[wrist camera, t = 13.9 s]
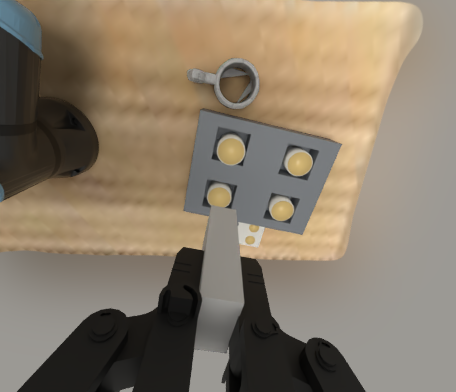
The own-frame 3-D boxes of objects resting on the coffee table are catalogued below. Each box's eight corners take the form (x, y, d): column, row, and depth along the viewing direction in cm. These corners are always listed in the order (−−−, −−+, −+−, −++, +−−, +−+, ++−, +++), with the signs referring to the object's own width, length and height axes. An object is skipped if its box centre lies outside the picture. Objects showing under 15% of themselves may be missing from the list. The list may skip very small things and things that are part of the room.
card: (218, 238, 55) (218, 240, 54) (224, 214, 52) (224, 215, 51) (257, 245, 56) (258, 247, 55) (265, 222, 53) (266, 224, 52)
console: (187, 200, 51) (183, 211, 46) (203, 108, 43) (200, 110, 38) (296, 222, 53) (302, 234, 49) (330, 139, 45) (341, 144, 41)
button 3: (263, 207, 51) (267, 219, 46) (270, 188, 49) (274, 198, 44) (283, 211, 51) (289, 223, 46) (291, 192, 49) (297, 203, 44)
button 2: (215, 154, 43) (214, 162, 38) (220, 129, 41) (220, 134, 36) (239, 160, 43) (241, 168, 39) (246, 135, 41) (248, 140, 37)
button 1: (207, 195, 49) (204, 206, 45) (211, 175, 47) (209, 184, 43) (228, 200, 50) (228, 211, 45) (233, 180, 48) (234, 189, 43)
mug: (251, 112, 43) (259, 117, 32) (189, 99, 42) (176, 101, 31) (260, 67, 40) (273, 56, 29) (194, 52, 39) (182, 36, 28)
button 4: (277, 165, 47) (283, 173, 42) (285, 142, 45) (291, 148, 40) (299, 170, 47) (307, 179, 42) (307, 148, 45) (317, 154, 40)
